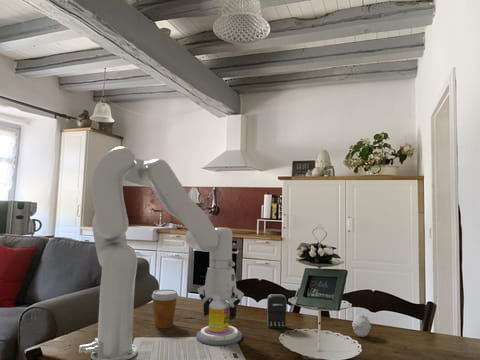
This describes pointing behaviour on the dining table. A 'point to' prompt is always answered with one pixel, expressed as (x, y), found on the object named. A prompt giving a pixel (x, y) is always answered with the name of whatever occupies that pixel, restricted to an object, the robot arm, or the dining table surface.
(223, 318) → the supplement bottle
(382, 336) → the dining table surface
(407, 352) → the dining table surface
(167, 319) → the disposable coffee cup
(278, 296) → the battery
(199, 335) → the round holder
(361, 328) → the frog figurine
